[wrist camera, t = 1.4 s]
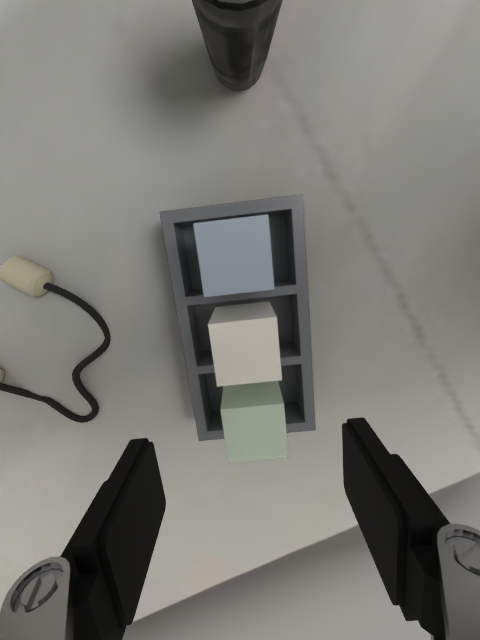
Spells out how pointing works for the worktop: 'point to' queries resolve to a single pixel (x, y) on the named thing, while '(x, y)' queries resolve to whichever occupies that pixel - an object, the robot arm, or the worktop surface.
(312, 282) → the worktop surface
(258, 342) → the key ivory
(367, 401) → the worktop surface
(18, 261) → the cable
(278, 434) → the key sage
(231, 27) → the beverage cup
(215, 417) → the box
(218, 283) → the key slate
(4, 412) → the worktop surface
